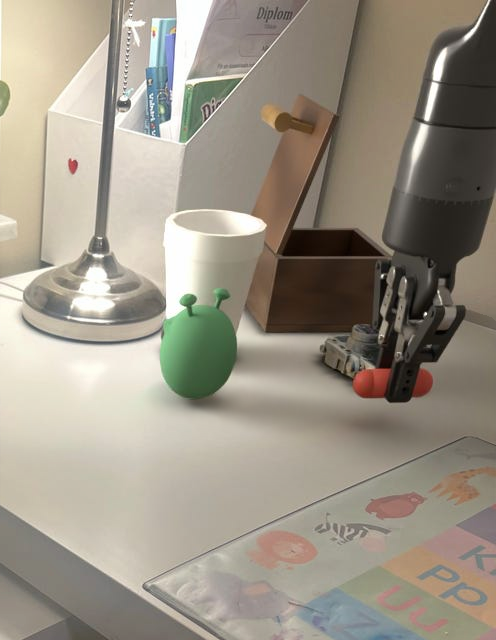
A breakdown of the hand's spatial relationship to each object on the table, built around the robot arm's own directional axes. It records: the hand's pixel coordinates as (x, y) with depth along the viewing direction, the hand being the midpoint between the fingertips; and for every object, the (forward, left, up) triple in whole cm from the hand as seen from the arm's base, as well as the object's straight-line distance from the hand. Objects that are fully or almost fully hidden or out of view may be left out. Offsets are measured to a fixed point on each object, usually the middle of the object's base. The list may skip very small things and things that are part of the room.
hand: (390, 392), depth 86 cm
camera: (-2, -12, -3) cm, 13 cm away
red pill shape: (0, 0, 0) cm, 0 cm away
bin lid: (+3, -29, +12) cm, 31 cm away
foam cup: (+13, -17, -3) cm, 22 cm away
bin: (-2, -29, -3) cm, 29 cm away
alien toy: (+16, -7, -3) cm, 18 cm away
